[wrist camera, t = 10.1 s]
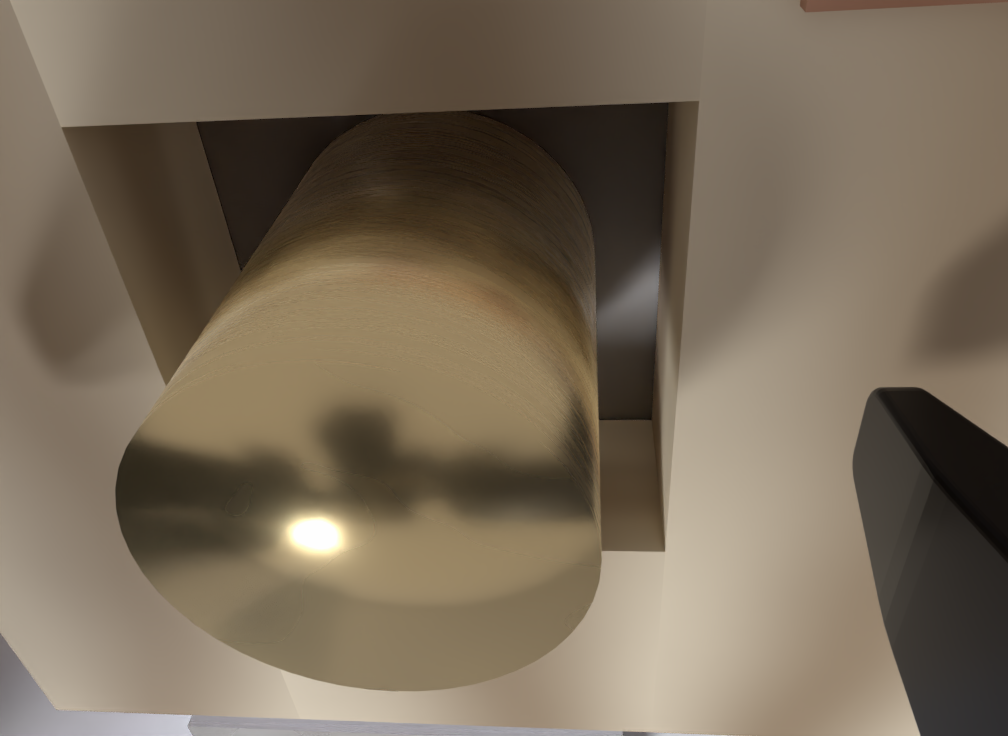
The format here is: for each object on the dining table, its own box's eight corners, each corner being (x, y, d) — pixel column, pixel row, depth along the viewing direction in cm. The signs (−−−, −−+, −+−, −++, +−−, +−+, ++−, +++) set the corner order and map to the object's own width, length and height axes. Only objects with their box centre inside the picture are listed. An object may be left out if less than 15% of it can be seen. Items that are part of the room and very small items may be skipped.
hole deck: (124, 587, 16) (50, 721, 13) (-429, -422, 7) (-861, -497, 5) (887, 603, 14) (941, 756, 12) (1310, -637, 6) (1745, -869, 4)
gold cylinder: (324, 378, 12) (199, 684, 8) (258, 114, 10) (33, 365, 6) (595, 377, 12) (600, 698, 8) (594, 99, 9) (603, 360, 5)
